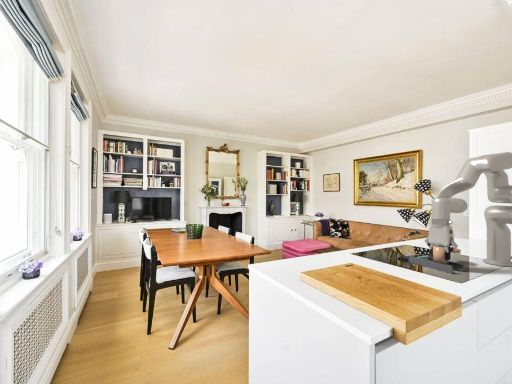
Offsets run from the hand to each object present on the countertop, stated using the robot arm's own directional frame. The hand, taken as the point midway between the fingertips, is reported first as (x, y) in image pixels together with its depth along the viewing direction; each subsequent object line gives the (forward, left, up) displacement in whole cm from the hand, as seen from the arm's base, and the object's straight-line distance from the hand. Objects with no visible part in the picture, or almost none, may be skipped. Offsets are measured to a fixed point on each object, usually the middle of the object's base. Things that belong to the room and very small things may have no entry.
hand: (440, 258), depth 127 cm
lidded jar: (-16, -6, -5) cm, 18 cm away
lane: (0, -3, -5) cm, 6 cm away
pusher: (0, -9, -5) cm, 10 cm away
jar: (0, 0, -2) cm, 2 cm away
